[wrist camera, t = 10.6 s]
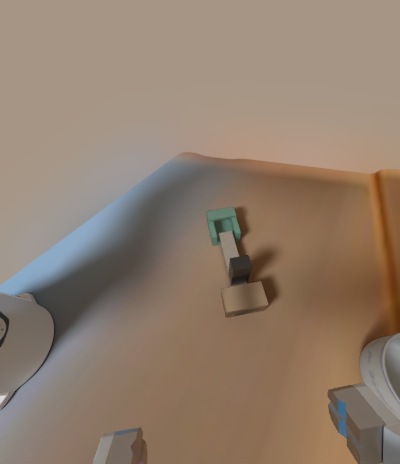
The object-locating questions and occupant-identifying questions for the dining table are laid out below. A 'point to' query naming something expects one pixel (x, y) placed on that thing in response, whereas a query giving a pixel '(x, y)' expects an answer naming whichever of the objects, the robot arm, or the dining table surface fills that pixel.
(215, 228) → the green slotted block
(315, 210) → the dining table surface
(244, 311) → the socket block
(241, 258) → the two-tone rectangular rod
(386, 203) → the dining table surface
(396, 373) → the teacup
